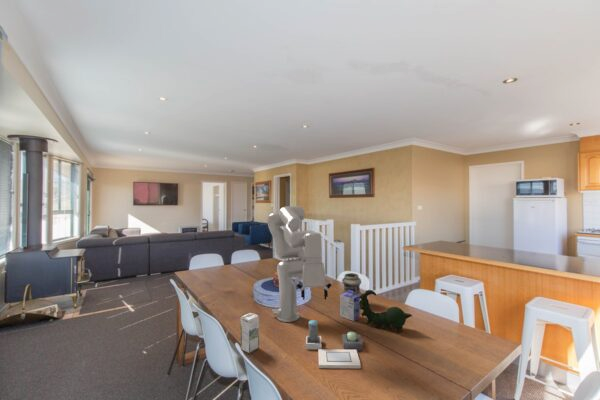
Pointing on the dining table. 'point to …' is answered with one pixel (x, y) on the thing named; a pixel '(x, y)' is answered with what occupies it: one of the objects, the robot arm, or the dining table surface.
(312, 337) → the marker
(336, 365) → the picture board
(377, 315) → the toy figurine
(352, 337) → the button
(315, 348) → the marker holder
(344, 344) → the button housing
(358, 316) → the ink cartridge box
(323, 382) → the dining table surface
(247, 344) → the syrup box
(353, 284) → the apothecary jar
